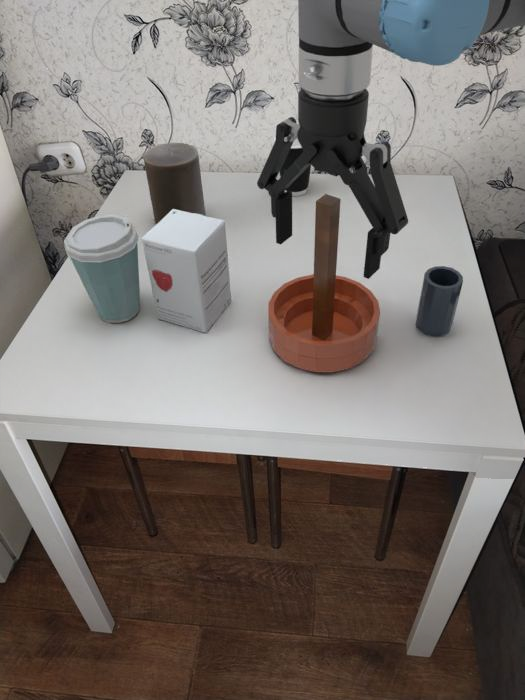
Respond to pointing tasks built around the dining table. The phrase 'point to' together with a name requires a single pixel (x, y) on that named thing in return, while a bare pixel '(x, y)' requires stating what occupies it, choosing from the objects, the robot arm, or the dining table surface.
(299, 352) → the bowl
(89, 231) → the disposable coffee cup
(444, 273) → the gray pipe section
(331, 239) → the stirring stick
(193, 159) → the pillar candle
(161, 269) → the rectangular carton
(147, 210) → the dining table surface
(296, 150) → the dixie cup
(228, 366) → the dining table surface
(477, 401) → the dining table surface
